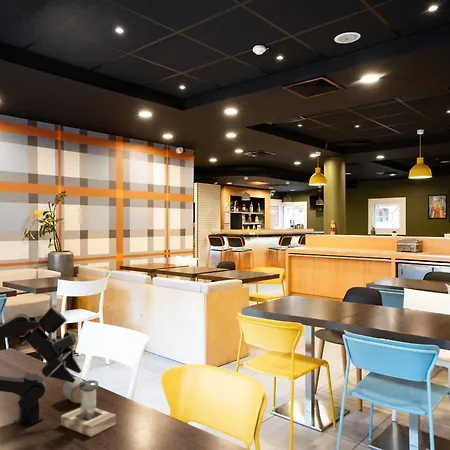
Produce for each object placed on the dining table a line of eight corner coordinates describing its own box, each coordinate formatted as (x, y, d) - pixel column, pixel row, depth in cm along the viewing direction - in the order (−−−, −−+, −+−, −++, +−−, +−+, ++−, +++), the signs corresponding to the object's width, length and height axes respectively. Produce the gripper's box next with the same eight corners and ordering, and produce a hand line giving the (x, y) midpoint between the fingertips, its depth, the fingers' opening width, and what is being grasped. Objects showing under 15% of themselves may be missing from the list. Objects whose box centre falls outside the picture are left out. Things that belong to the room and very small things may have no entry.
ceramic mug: (70, 406, 147) (71, 384, 147) (62, 399, 153) (62, 378, 154) (99, 399, 154) (100, 378, 154) (90, 393, 160) (90, 373, 160)
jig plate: (61, 425, 133) (61, 415, 133) (86, 413, 141) (86, 404, 141) (90, 436, 126) (91, 426, 126) (116, 424, 134) (116, 414, 134)
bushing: (74, 425, 133) (75, 384, 133) (89, 419, 137) (89, 379, 138) (86, 430, 129) (87, 387, 130) (101, 423, 134) (102, 382, 135)
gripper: (53, 332, 129) (90, 367, 130) (67, 320, 147) (99, 350, 148) (26, 359, 127) (63, 394, 129) (43, 343, 146) (76, 374, 147)
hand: (77, 376), depth 138 cm, fingers open, 9 cm apart
